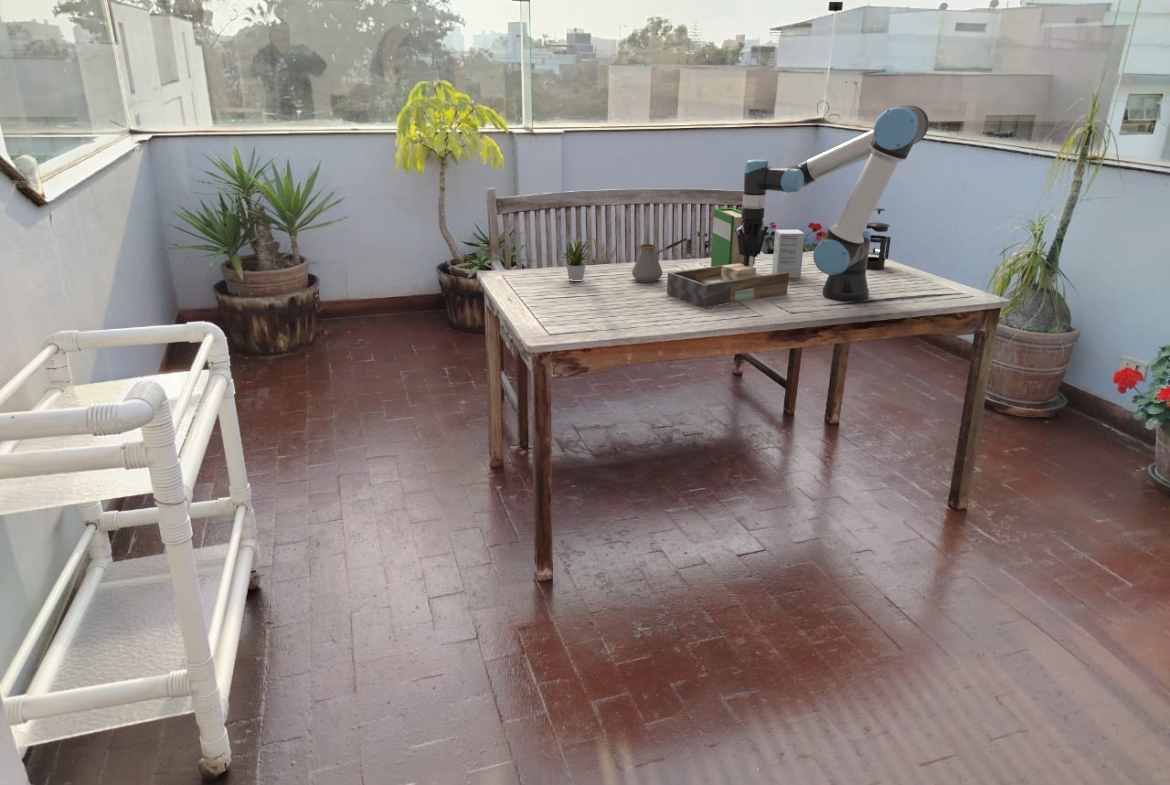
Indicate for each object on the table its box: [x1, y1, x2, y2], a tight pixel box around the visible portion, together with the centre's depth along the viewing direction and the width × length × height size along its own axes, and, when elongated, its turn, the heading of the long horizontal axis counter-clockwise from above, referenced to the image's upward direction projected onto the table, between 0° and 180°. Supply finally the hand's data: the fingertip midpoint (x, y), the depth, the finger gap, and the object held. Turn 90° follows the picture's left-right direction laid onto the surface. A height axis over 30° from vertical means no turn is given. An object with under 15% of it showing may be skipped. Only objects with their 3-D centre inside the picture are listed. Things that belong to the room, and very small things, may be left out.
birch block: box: [721, 263, 757, 281], centre depth 278 cm, size 9×8×5 cm
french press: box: [865, 207, 892, 271], centre depth 313 cm, size 12×9×23 cm
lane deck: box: [666, 262, 790, 308], centre depth 277 cm, size 21×36×8 cm, turn 119°
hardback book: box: [710, 207, 744, 267], centre depth 300 cm, size 18×7×24 cm, turn 12°
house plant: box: [558, 236, 595, 280], centre depth 295 cm, size 14×14×16 cm
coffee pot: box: [631, 237, 689, 283], centre depth 297 cm, size 21×12×15 cm, turn 103°
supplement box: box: [771, 229, 806, 279], centre depth 301 cm, size 10×9×17 cm
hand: (748, 274), depth 281 cm, fingers closed
